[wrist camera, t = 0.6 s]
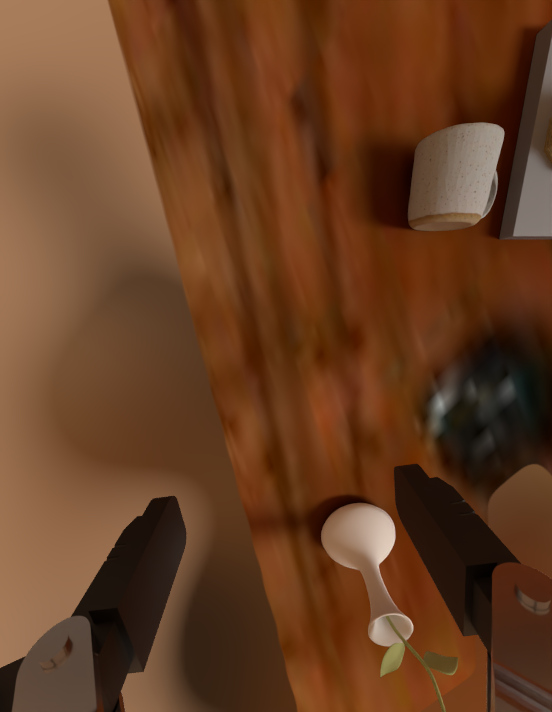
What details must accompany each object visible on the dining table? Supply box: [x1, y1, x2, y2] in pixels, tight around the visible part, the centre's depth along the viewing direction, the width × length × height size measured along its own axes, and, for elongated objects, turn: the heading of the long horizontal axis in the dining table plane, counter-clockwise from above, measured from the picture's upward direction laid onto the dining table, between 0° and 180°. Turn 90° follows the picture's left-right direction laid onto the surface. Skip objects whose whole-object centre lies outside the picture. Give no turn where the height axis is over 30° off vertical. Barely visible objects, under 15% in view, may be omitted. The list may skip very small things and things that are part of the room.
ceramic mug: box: [408, 123, 504, 231], centre depth 29 cm, size 11×8×8 cm
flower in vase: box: [321, 503, 458, 712], centre depth 32 cm, size 13×11×25 cm
